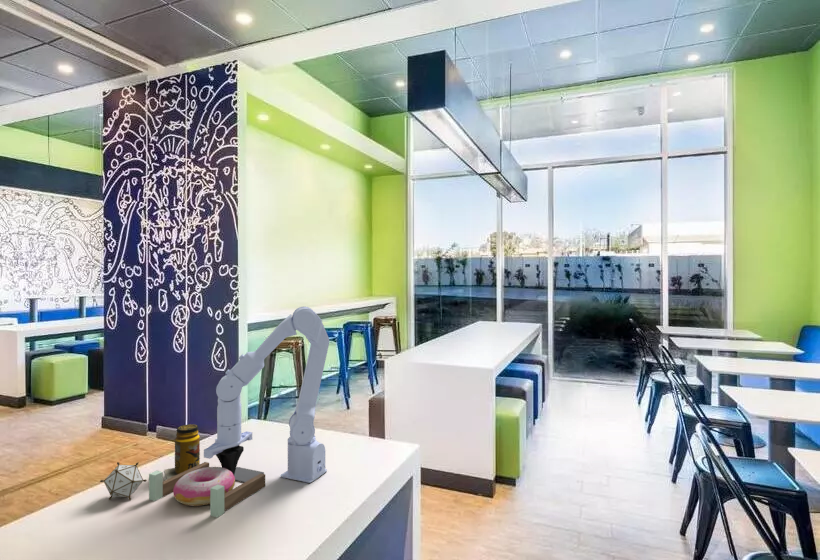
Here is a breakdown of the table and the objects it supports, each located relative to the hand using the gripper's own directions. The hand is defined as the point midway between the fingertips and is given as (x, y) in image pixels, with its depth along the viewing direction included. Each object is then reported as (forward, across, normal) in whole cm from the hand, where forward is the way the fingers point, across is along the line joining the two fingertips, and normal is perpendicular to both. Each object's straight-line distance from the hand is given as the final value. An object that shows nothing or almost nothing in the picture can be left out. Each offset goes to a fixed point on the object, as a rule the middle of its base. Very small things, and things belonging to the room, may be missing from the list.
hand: (229, 476), depth 117 cm
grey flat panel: (+1, -4, 0) cm, 5 cm away
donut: (+2, +8, 0) cm, 8 cm away
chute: (+1, +5, 0) cm, 5 cm away
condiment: (+2, 0, -16) cm, 16 cm away
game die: (+2, +16, -17) cm, 23 cm away
